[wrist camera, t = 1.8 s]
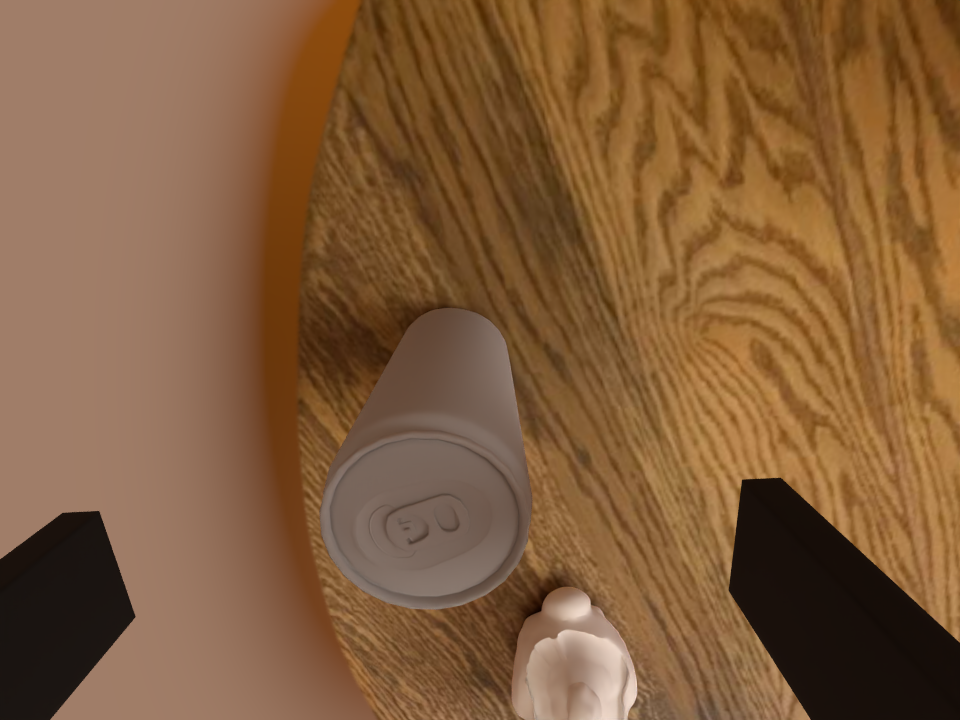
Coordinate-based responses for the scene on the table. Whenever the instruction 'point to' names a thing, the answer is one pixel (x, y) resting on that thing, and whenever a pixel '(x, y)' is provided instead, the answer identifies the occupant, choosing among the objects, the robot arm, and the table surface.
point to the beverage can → (433, 471)
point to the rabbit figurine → (571, 663)
